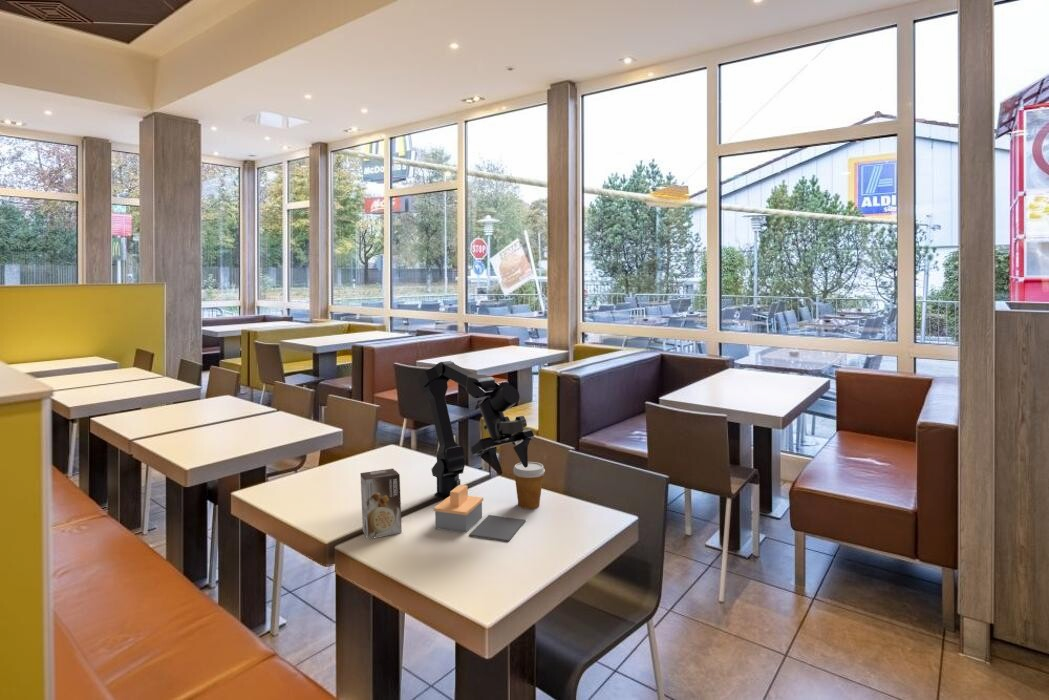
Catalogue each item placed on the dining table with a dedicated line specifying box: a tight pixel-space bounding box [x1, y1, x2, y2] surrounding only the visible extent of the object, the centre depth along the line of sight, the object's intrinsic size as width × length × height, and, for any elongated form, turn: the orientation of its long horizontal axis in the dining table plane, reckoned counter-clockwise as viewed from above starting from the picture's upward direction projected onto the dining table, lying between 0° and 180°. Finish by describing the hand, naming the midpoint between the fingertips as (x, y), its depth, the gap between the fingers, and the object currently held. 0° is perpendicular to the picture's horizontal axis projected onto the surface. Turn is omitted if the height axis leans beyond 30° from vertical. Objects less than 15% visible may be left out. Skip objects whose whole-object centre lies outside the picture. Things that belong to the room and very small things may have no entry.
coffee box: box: [360, 468, 403, 539], centre depth 157 cm, size 9×6×16 cm
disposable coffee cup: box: [512, 461, 546, 510], centre depth 176 cm, size 10×10×12 cm
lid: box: [433, 484, 484, 515], centre depth 163 cm, size 10×12×6 cm
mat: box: [468, 514, 527, 543], centre depth 160 cm, size 11×14×1 cm
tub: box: [434, 501, 483, 534], centre depth 163 cm, size 9×11×5 cm
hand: (513, 470), depth 162 cm, fingers open, 9 cm apart
